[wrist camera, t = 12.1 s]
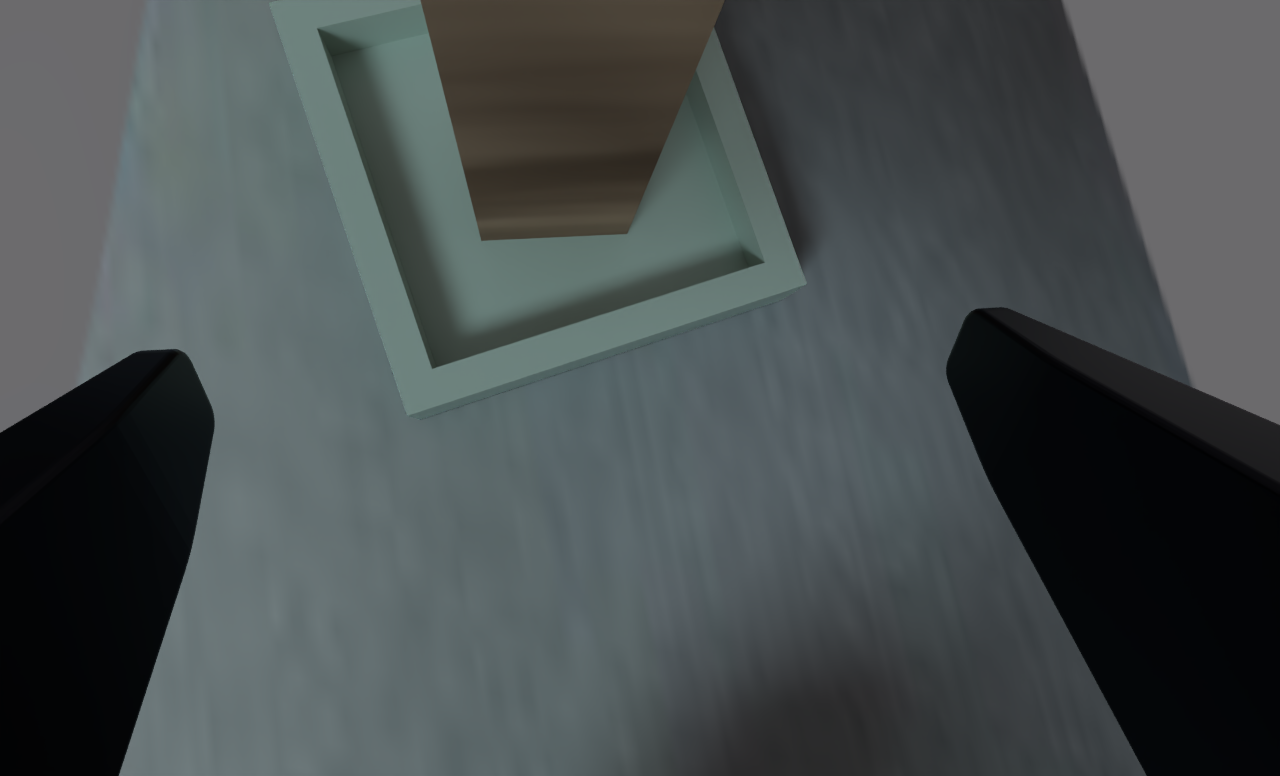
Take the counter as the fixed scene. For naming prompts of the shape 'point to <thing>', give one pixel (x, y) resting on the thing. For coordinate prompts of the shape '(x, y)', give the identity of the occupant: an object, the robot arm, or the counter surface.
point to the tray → (520, 268)
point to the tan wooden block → (563, 104)
